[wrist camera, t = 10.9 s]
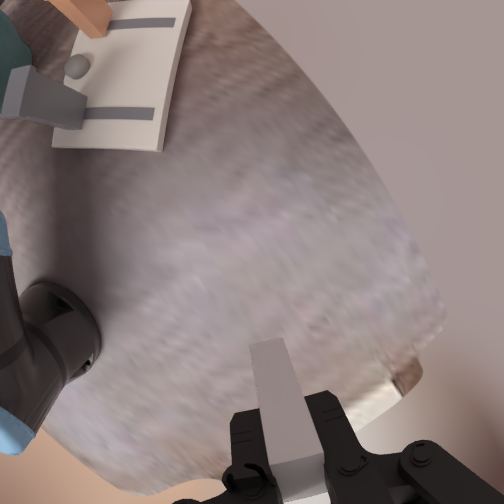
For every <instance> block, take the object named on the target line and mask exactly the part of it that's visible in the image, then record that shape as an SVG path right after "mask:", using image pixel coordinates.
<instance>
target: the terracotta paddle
mask: <svg viewBox="0 0 504 504" xmlns="http://www.w3.org/2000/svg"><path fill="white" fill-rule="evenodd" d="M44 1H47V0H44ZM48 1H50V2H51V3H52V4H53V5H54V6H55V7H56V8H57V9H58V10H60V11H61V12H62V13H63V14H64V15H65V16H66V17H67V18H68V19H70V20H71V21H72V22H73V23H74V24H75V25H76V26H77V27H78V28H79V29H80V30H81V31H83V32H84V33H85V34H86V35H87V36H88V37H89V38H90V39H93V38H102V37H105V34H106V31H107V28H108V25H109V22H110V19H111V16H112V13H113V11H112V9H111V8H110V7H109V5H108V4H107V2H106V1H105V0H48Z"/></svg>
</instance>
